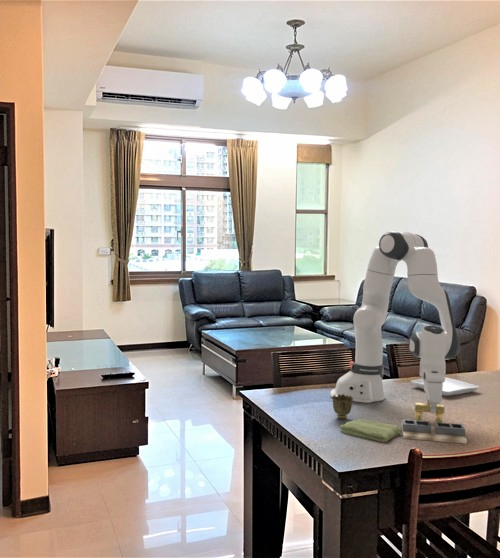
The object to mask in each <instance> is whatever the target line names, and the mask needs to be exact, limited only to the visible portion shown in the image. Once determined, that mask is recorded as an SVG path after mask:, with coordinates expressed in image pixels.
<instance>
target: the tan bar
mask: <svg viewBox="0 0 500 558" xmlns="http://www.w3.org/2000/svg"><path fill="white" fill-rule="evenodd" d="M414 412H415V413H414V414H415V416H414V418H415V419H414V420H419V421H424V419H423V418H424V416H423V415H424V413H430V414H431V412H430V404H427V402H426V403H424V402H423V403H422V402H414ZM444 414H445V405H444V404H441V403H440V404H437V407H436V413H435V414H434V415H435V417H434V418H435V419H434V423H435V422H443V421H444ZM443 423H444V422H443Z"/></svg>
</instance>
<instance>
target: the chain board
mask: <svg viewBox="0 0 500 558" xmlns="http://www.w3.org/2000/svg"><path fill="white" fill-rule="evenodd" d="M400 425H401V431H402V432H401V434H402V438H403V439H411V440H421V441H433V442H441V443H442V442H444V443H456V444H465V445H467V444H468V440H467V438H466V436H465V437H462V436H451V435H439V434H436V432H435V429H434V425H435V424H434V425H432V424H431V434H428V433H417V432H405V431H403V429H402V422H401V424H400Z"/></svg>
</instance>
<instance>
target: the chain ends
mask: <svg viewBox="0 0 500 558" xmlns="http://www.w3.org/2000/svg"><path fill="white" fill-rule="evenodd" d="M401 423H402V427H401V430H402V429H403V431H405V432H417V433H428V434H431V425H432V423H431V421H428V420H423V421H419V420H415V419H406V418H405V419H403V418H402V419H401ZM434 429H435V432H436V434H439V435H451V436H462V437H465V438H466V428H465V425H464V424H463V423H453V422H435V421H434Z"/></svg>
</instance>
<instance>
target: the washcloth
mask: <svg viewBox="0 0 500 558" xmlns="http://www.w3.org/2000/svg"><path fill="white" fill-rule="evenodd" d="M339 429H340V430H341V431H342V433H343V434H345V435H346V434H347V435H350V436H355V437H359V438H363V439H368V440H371V439H372V440H371V441H376V440H377V442H380V441H382V442H381V443H387V442H388V441H389V440H390V441H391V440H392V438H394V437H396V436H398V435H400V434H401V433H402V432H401V431H402V429H401V428H400V426H398V425H396V424H390V423H389V424H388V423H384V422H379V421H375V420H373V421H372V420H368V419H364V418H357V419H353V420H351V421H347V422H346V423H345V424H340V426H339Z"/></svg>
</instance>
